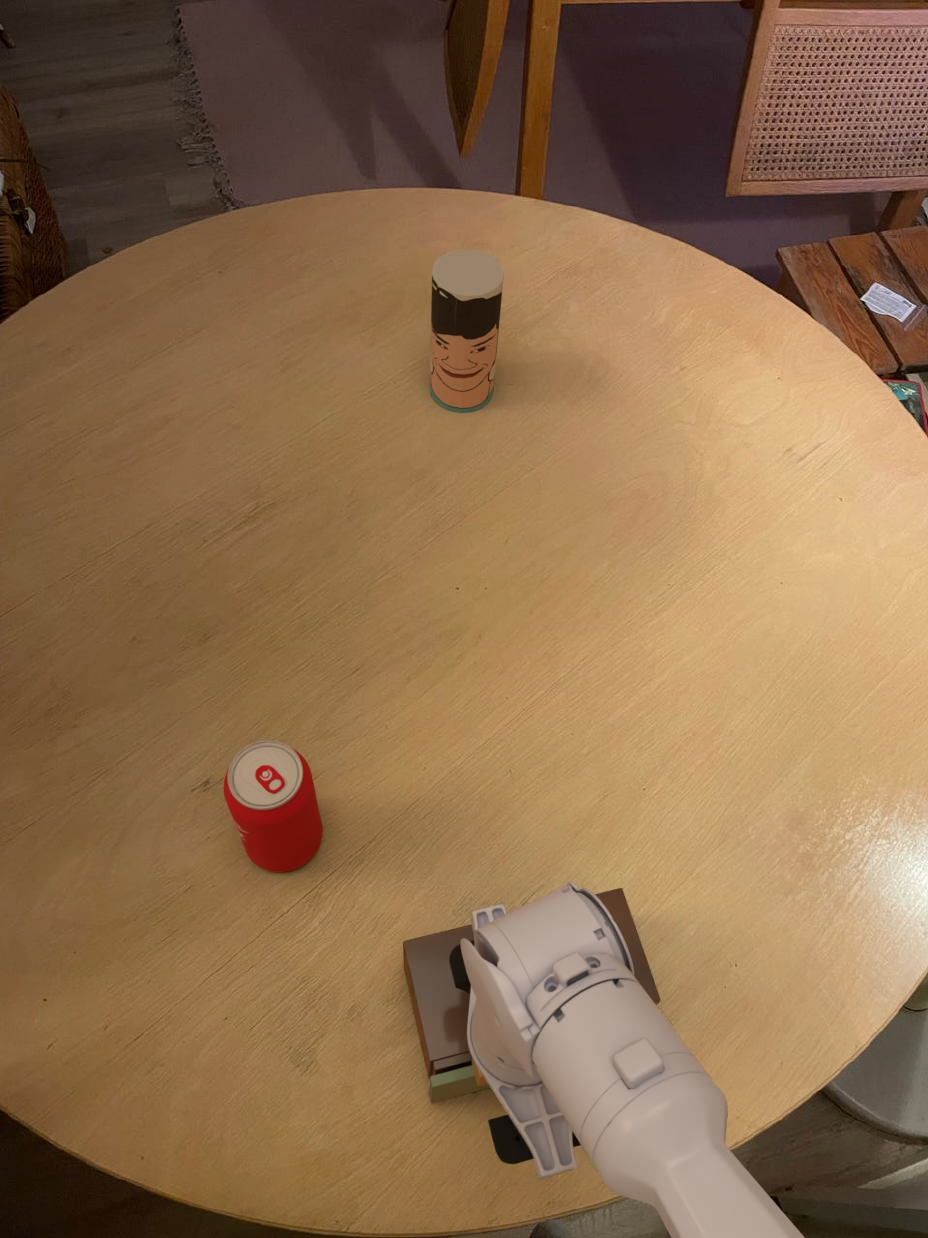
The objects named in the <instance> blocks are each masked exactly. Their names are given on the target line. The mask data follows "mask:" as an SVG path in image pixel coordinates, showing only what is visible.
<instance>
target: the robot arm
mask: <svg viewBox="0 0 928 1238" xmlns="http://www.w3.org/2000/svg"><path fill="white" fill-rule="evenodd" d="M595 894H596V893H594V892H593V891H592V890H590V889H588V888H584V887H582V888H579V887H578V886H577V885H576V884H575V883H574V882H573V881H571V880H569V881H568V882H567V884H566V885H561V886H560V887H558V888H556V889H554V890H552V891H550V892H548V893H546V894H544V895H542V896H540V897H538V898H536V899H534V900H532V901H530V902H528V903H525V904H523V905H522V906H520V907H518V908H516V909H514V910H512V911H510V912H508V911H507V909H506V905H505V903H499V904H495V905H491V906H487V907H483V908H478V909H475V910H472V912H471V916H470V925H472V929H473V932H474V940H473V941H468V940H467V939H465V938H462V939H461V942H460V944H459V945H457V946H456V947H454V949H453V950H452V951H451V954H450V958H449V963H450V967H451V971H452V975H453V979H454V983H455V987H456V988H457V989H461V990H463V991H465V992H467V993H469V994H470V1001H469V1012H468V1023H467V1041H468V1047H469V1050H470V1053H471V1056H472V1058H473V1060H474V1062H475V1064H476V1066H477V1067H478V1069H479V1070H480V1072H481V1073H482V1075H483V1076H484V1078H485V1080H486V1081H487V1083H488V1084H489V1086H490V1087H491V1088H490V1089H491V1090H492V1092H493V1094H494V1095H495V1097H496V1098H497V1100H498V1101H499V1103H500V1105H501V1107H502V1108H503V1109H504V1111H505V1113H506V1114H504V1115H500V1116H496V1117H494V1118H493V1117H492V1118H490V1119H488V1120H487V1123H488V1127H489V1131H490V1135H491V1138H492V1143H493V1148H494V1150H495V1151H494V1152H495V1154H496V1155H497V1158H498V1159H499V1160H500V1161H501V1162H502V1163H504V1164H506V1165H517V1164H521V1163H524V1162H528V1161H532V1160H533V1167H534V1170H535V1174H536V1178H537V1180H538V1181H542V1180H545V1179H548V1178H551V1177H556V1176H559V1175H562V1174H566V1173H569V1172H572V1171H574V1170H575V1169H576V1168H578V1162H577V1158H576V1154H575V1150H574V1149H575V1148H576V1147H580V1146H581V1147H582V1149H583V1151H584V1152H585V1154H586V1156H587V1157H588V1159H589V1161H590V1162H591V1164H592V1165H593V1167H594V1169H595V1170H596V1172H597V1174H598V1175H599V1177H600V1179H601V1180H602V1183H603V1184H604V1185H605V1186H606V1188H607V1189H608V1190H609V1191H610V1192H612V1193H614V1194H616V1195H617V1196H620V1197H623V1198H627V1199H630V1200H634V1201H637V1202H641V1203H643V1204H646V1205H649V1206H652V1207H653V1208H654V1209H655V1210H656V1211H657V1213H658V1215H659V1217H660V1219H661V1221H662V1223H663V1225H664V1227H665V1228H666V1230H667V1232H668V1234H669V1236H670V1238H806V1237H805V1236H804V1235H803V1234H802V1233H801V1231H800V1230H799V1229H798V1228H797V1227H796V1225H794V1223H793V1222H792V1221H791V1220H790V1219H789V1218H788V1217H787V1215H786V1214H785V1213H784V1212H783V1210H781V1208H780V1207H779V1206H778V1204H776V1202H775V1201H774V1200H773V1199H772V1198H771V1197H770V1195H769V1194H768V1193H767V1191H765V1189H764V1188H763V1187H762V1186H761V1185H760V1183H758V1180H756V1179H755V1178H754V1177H753V1175H752V1174H751V1173H750V1172H749V1171H748V1170H747V1168H746V1167H745V1166H744V1165H743V1164H742V1163H741V1161H740V1160H739V1159H738V1158H737V1156H735V1154H734V1153H733V1152H732V1151H731V1150H730V1149H729V1148H728V1146H727V1145H726V1136H727V1128H728V1127H727V1126H728V1117H729V1108H728V1101H727V1099H726V1095H725V1093H724V1092H723V1091H722V1089H721V1088H720V1087H719V1086H718V1085H717V1084H716V1082H715V1081H714V1080H713V1078H712V1077H711V1076H710V1074H709V1073H708V1072H707V1070H706V1068H705V1067H704V1066H703V1065H702V1063H701V1062H700V1061H699V1059H697V1057H696V1056H695V1054H694V1053H693V1052H692V1050H691V1049H690V1048H689V1046H688V1045H687V1044H686V1043H685V1041H684V1040H683V1038H682V1037H681V1036H680V1035H679V1033H678V1032H677V1030H676V1029H675V1028H674V1027H673V1025H672V1023H670V1022H669V1020H668V1018H667V1017H666V1016H665V1015H664V1014H663V1012H662V1011H661V1009H660V1008H659V1007H658V1005H656V1004H655V1003H654V1002H653V1000H652V999H651V998H650V997H649V995H648V994H647V993H646V991H645V990H644V989H643V987H642V986H641V985H640V983H639V982H638V981H637V979H636V978H635V977H634V967H633V963H632V959H631V956H630V953H629V950H628V947H627V945H626V943H625V940H624V938H623V936H622V934H621V932H620V930H619V928H618V926H617V924H616V923H615V921H614V920H613V917H612V916H611V914H610V913H609V911H608V910H607V908H606V907H605V906H604V904H603V903H602V902H601V901H600V899H599V898H598V897H597V896H596V895H595Z"/></svg>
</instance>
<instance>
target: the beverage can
mask: <svg viewBox="0 0 928 1238" xmlns="http://www.w3.org/2000/svg"><path fill="white" fill-rule="evenodd" d="M223 781H224V782H223V795H224V800H225V802H226V805H227V808H228V810H229V812H230V813H229V814H230V816H231V818H232V820H233V823H234V825H235V827H236V828H235V829H236V830H237V833H238V835H239V838H240V840H241V843H242V846H243V848H244V850H245V853H246V855H247V856H248V858H249V859H250V860H251V861H252V863H254V864H255V865H256V866H257V867H259V868H260V869H263V870H266V871H269V872H274V873H285V872H291V871H293V870H296V869H299V868H300V867H302V866H305V865H306V864H307V863H308V862H309V861H310V860H312V859H313V858H314V856H315V855H316V854H317V852H318V851H319V848H320V847H321V843H322V841H323V834H324V831H323V829H324V828H323V822H322V818H321V812H320V808H319V803H318V799H317V797H318V796H317V793H316V789H315V783H314V778H313V774H312V770H311V766H310V764H309V763H308V761H307V760H306V758H305V757H304V756H303V755H302V754H301V753H300V752H298V751H297V750H296V749H295V748H293V747H291V746H289V745H288V744H286V743H284V742H281V741H278V740H270V739H269V740H267V739H266V740H259V741H256V742H253V743H250V744H248V745H246V746H245V747H243V748H242V749H240V751H238V752H237V753H236V755H235V756H234V758H233V759H232V761H231V762H230V764H229V767H228V768H227V770H226V773H225V775H224V780H223Z"/></svg>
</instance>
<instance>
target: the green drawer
mask: <svg viewBox="0 0 928 1238" xmlns="http://www.w3.org/2000/svg"><path fill="white" fill-rule="evenodd" d="M428 1086H429V1087H428V1098H429V1102H430V1105H431V1104H432V1105H433V1104H436V1103H439V1102H440V1103H441V1102H444V1101H448V1100H450V1099H454V1098H458V1097H462V1096H466V1095H469V1094H473V1093H477V1092H480V1091H484V1090H488V1089H491V1087H490V1086H489V1084H488V1083H487V1081H486V1080H485V1078H484V1076H483V1075H482V1073H481V1072H480V1070H479V1069H478V1067H477V1066H476V1064H475V1062H474V1060H473V1058H472V1065H471V1066H467V1067H463V1068H459V1069H456V1070H452V1071H448V1072H444V1073H441V1074H437V1075H433V1076H430V1079H429V1085H428Z"/></svg>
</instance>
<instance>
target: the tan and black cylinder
mask: <svg viewBox="0 0 928 1238" xmlns="http://www.w3.org/2000/svg"><path fill="white" fill-rule="evenodd" d="M504 276H505V273H504V268H503V266H502V264H501V263H500V262H499V261H498V259H496V258H495V257H494V256H492V255H491V254H490V253H487V252H483V251H481V250H477V249H470V248H464V249H456V250H451V251H449V252H446V253H444V254H443V255H441V256H439V257H438V258H437V260H436V261H434V262H433V265H432V269H431V301H430V302H431V305H430V306H431V307H430V355H429V357H430V358H429V360H430V361H429V393H430V397H431V398H432V399H433V401H434V402H435V403H436V404H437V405H439V407H441V408H443V409H445V410H448V411H449V412H454V413H455V412H456V413H471V412H475V411H477V410H478V411H479V410H480V409H482V408H484V407H485V406H486V405H488V404H489V402H490V401H491V400H492V398H493V393H494V389H495V388H494V387H495V377H496V376H495V375H496V365H497V353H498V344H499V332H500V321H501V310H502V300H503V287H504V278H505V277H504Z"/></svg>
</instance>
